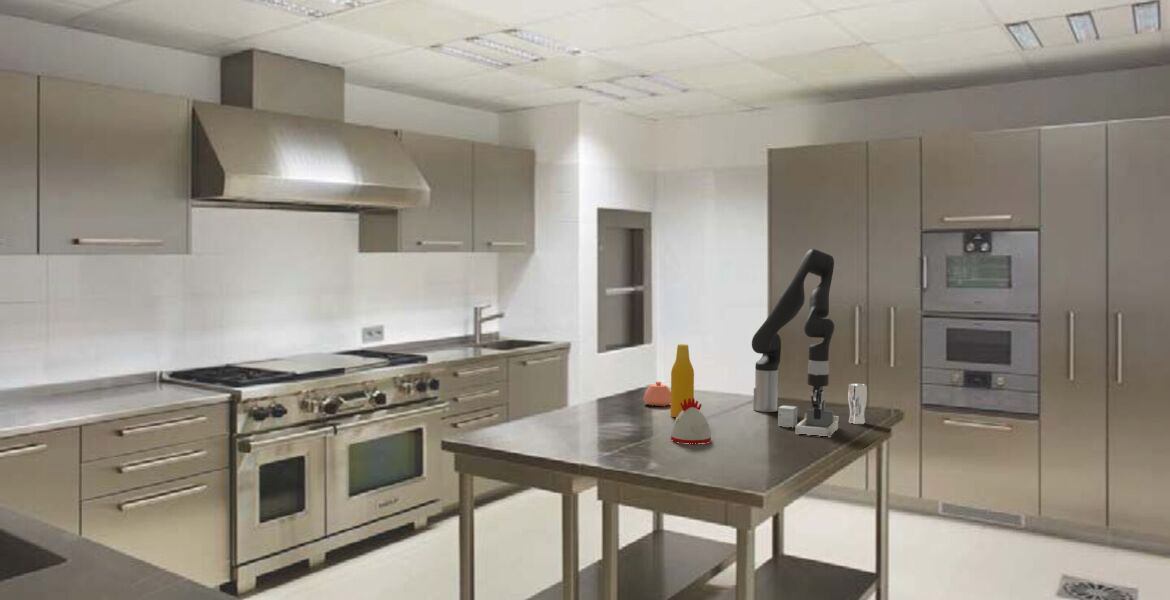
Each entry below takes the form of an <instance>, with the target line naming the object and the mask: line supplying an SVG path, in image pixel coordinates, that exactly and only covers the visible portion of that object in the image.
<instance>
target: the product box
mask: <svg viewBox="0 0 1170 600" xmlns="http://www.w3.org/2000/svg"><path fill="white" fill-rule="evenodd" d="M777 412H778V413H777V426H778V427H780V426H782V427H783V428H789V427H792V428H791V429H794V428H795V426H796V425H797V424H798V406H795V405H794V406H793V405H781V406H778V407H777ZM793 427H794V428H793Z"/></svg>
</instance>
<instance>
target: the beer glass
mask: <svg viewBox="0 0 1170 600" xmlns="http://www.w3.org/2000/svg"><path fill="white" fill-rule="evenodd" d="M867 388H868V387H867V384H865V383H857V382H856V383H852V382H851V383H848V389H847V390H848V393H847V394H848V395H847V400H848V407H849V417H848V423H849V424H851V423H853V425H865V424H866V420H865V410H866V406H867V401H868V400H867V399H868V390H867ZM864 423H865V424H864Z"/></svg>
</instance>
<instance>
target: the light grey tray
mask: <svg viewBox="0 0 1170 600" xmlns="http://www.w3.org/2000/svg"><path fill="white" fill-rule="evenodd" d="M839 418H840V417H839V416H838V415H833V423H832V424H831V425H830V426H829V427H820V426H809V425H807V412H806V413H804V418H803V419H802V420H800V422H797V425H796V426H795V427H794V428H795V430H794V431H795V432H794V433H795V435H799V434H807V435H806V436H810V435H819V436H818V437H820V436H828V437H827V438H831V437H832V436H833V435H834V434H835V433H834V432H835V431H836V432H837V431H838V430H839ZM833 433H834V434H833ZM832 434H833V435H832ZM831 435H832V436H831Z"/></svg>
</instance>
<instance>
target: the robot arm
mask: <svg viewBox="0 0 1170 600" xmlns="http://www.w3.org/2000/svg"><path fill="white" fill-rule="evenodd" d="M834 268H835V259H834V257H833V255H830V254H829V253H826V252H824V251H820V250H818V249H815V248H810V249H809V250H808V251H807V252H806V253H805V254H804V256H803V258H802V260H801V262H800V264H799V266H798V267H797V270H796V271H795V274H794V276H793V277H792V279H791V280H790V282H789V284H788V285H787V287H786V288H785V290H784V291H783V293H782V294H781V296H780V297H779V298H778V300H777V301H776V304H775V305H774V307H773V309H772V310H771V312H770V313H769V315H768V317H767V318H766V320H765V321H764V322H763V324H761V326H759V328H758V330H757V331H756V332H755V333H754V335H753V336H752V340H751V348H752V350H753V351H754V352H755V353H757V354H760V355H761V354H762V355H761V357H760V359H759V360H757V361H756V362H755V374H754V375H755V381H754V387H753V411H756V412H763V413H764V412H765V413H774V412H778V395H779V394H778V392H779V391H778V388H779V387H778V385H779V384H778V381H779V379H778V377H779V365H780V362H781V356H782V355H781V354H782V353H781V352H782V340H781V337H780V334H778V332H779V331H780V330H781V329H782V328H783V327H784V326H787V325H788V324H789V323H790V322H791V321H792V320H793V319H794V318H795V317H796V316H797V315H798V314H799V312H800V311H801V309H802V308H803V307H804V304H805V300H806V298H805V280H806V278H807V276H808V274H812V275H815V276H818V277H820V282H819V284H818V285H817V286H816V287H815V288H814V289H813V290H812V292H811V294H810V297H809V310H808V311H809V312H808V315H807V318H806V321H805V324H804V327H803V331H804V334H805V335H806V336H807V337H808V338H817V339H818V338H823V340H822V341H821V342H818V343H811V344H810V345H809V346H808V347H809V348H808V361H807V362H808V363H807V385H808V386H810V387H811V386H812V390H811V391H810V392H811V393H810V394H811V396H810V399H811V406H812V408H813V410H814V419H820V418H821V408H822V405H823V400H824V397H825V390H824V388H823V387H827V386H829V384H830V383H829V382H830V380H829V379H830V377H829V375H830V365H829V364H830V363H829V353H830V352H829V350H830V345H831V344H830V343H831V340H832V337H833V334H834V330H835V323H834V321H833V320H832V319H831V318H827V317H828V316H829V313H830V299H829V298H830V290H831V284H832V280H833V273H834Z"/></svg>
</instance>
